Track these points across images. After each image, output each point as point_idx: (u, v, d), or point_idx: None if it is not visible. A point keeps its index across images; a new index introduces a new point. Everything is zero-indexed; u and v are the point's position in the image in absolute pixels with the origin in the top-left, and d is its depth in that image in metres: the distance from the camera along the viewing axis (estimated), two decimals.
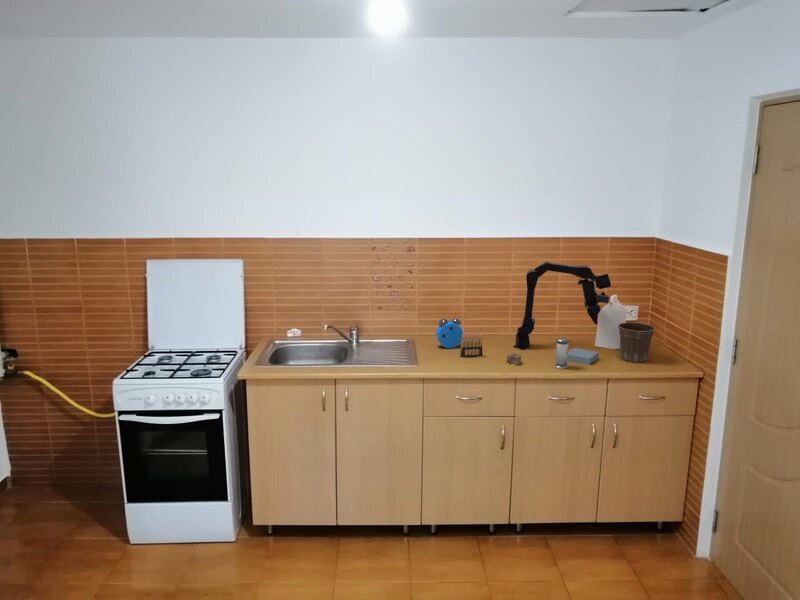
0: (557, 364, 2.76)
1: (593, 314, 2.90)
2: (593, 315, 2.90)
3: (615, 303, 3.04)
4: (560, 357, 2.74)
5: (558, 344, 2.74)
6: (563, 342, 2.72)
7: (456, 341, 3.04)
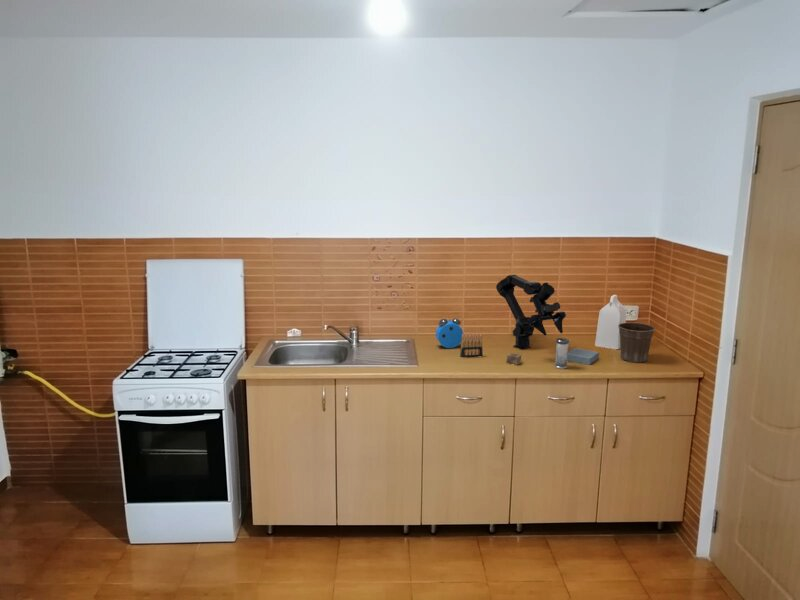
0: (557, 364, 2.76)
1: (539, 326, 2.82)
2: (539, 327, 2.82)
3: (615, 303, 3.04)
4: (560, 357, 2.74)
5: (558, 344, 2.74)
6: (563, 342, 2.72)
7: (456, 341, 3.04)
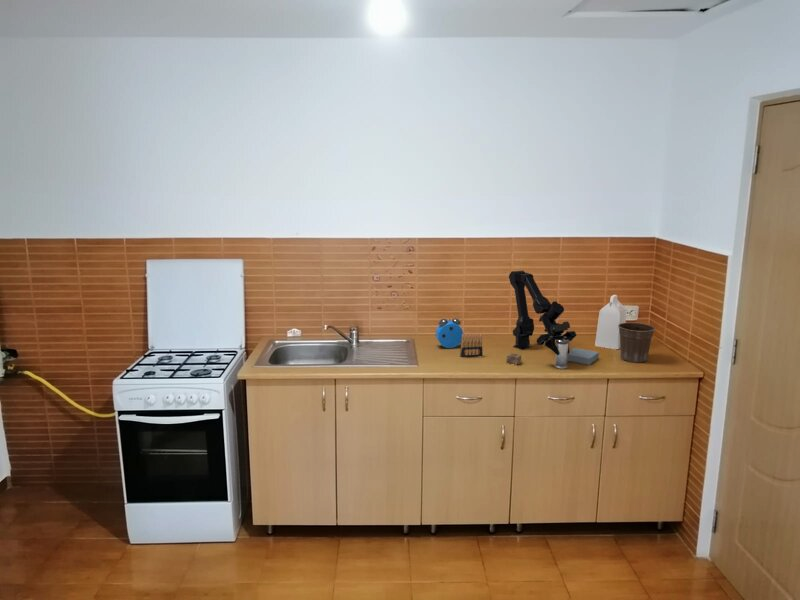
0: (557, 364, 2.76)
1: (551, 345, 2.76)
2: (551, 346, 2.76)
3: (615, 303, 3.04)
4: (560, 357, 2.74)
5: (558, 344, 2.74)
6: (563, 342, 2.72)
7: (456, 341, 3.04)
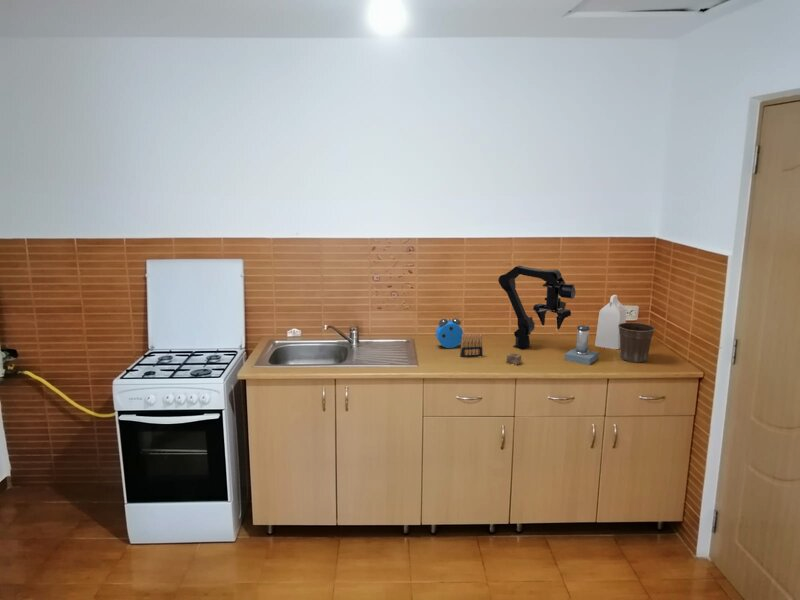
0: (581, 351, 2.85)
1: (560, 319, 2.89)
2: (560, 320, 2.89)
3: (615, 303, 3.04)
4: (584, 344, 2.84)
5: (582, 331, 2.83)
6: (587, 329, 2.82)
7: (456, 341, 3.04)
